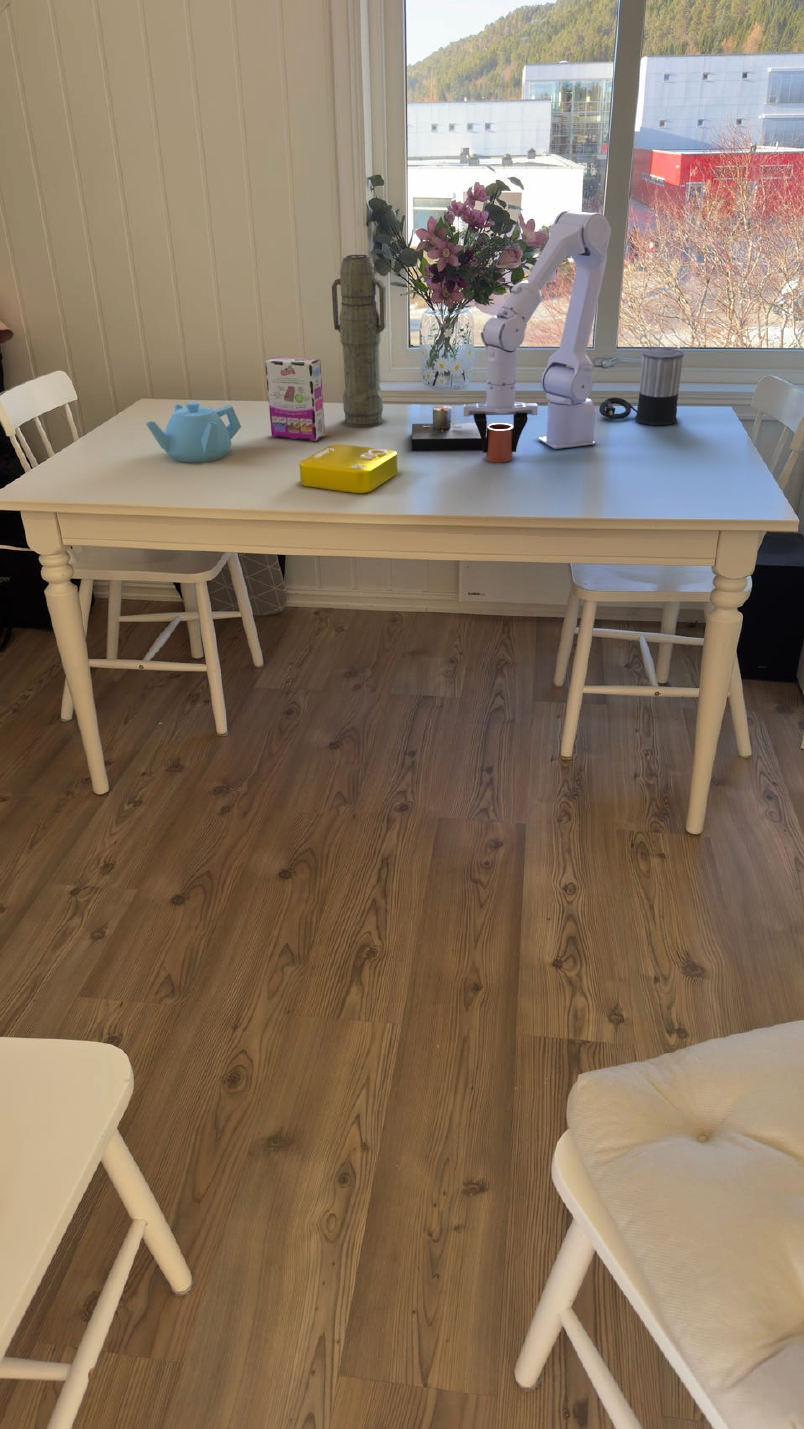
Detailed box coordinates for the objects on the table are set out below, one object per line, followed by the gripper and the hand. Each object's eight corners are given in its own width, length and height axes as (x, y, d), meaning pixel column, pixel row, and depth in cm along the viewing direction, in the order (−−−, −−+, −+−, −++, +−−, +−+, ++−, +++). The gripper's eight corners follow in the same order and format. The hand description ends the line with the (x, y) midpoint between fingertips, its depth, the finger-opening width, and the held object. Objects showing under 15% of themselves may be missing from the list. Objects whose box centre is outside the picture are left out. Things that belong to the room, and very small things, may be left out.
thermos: (385, 427, 230) (380, 258, 212) (334, 426, 232) (325, 258, 214) (393, 417, 238) (388, 253, 220) (343, 416, 239) (335, 253, 222)
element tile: (334, 464, 207) (333, 440, 205) (401, 472, 202) (400, 448, 199) (296, 485, 196) (294, 461, 193) (366, 495, 190) (365, 470, 188)
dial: (432, 424, 222) (432, 404, 220) (451, 424, 222) (451, 404, 220) (432, 429, 219) (432, 409, 217) (451, 429, 219) (451, 408, 217)
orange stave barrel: (505, 453, 211) (506, 422, 208) (516, 460, 207) (517, 428, 204) (482, 456, 210) (482, 424, 206) (492, 463, 205) (493, 431, 202)
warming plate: (485, 432, 225) (485, 420, 224) (488, 449, 214) (488, 437, 212) (412, 433, 226) (412, 421, 224) (411, 451, 214) (411, 438, 213)
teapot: (218, 467, 207) (212, 414, 201) (149, 464, 210) (142, 410, 205) (245, 446, 220) (240, 395, 214) (180, 443, 223) (174, 392, 217)
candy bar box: (326, 436, 225) (321, 358, 217) (316, 442, 221) (311, 363, 213) (281, 431, 229) (275, 355, 221) (270, 437, 225) (263, 360, 217)
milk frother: (684, 424, 228) (692, 355, 220) (618, 430, 225) (624, 360, 217) (656, 409, 240) (663, 342, 232) (593, 414, 237) (598, 347, 229)
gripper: (464, 387, 197) (464, 457, 204) (540, 386, 197) (536, 456, 204) (463, 379, 203) (462, 447, 210) (536, 378, 203) (533, 446, 210)
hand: (499, 450), depth 207 cm, fingers closed on orange stave barrel, 5 cm apart
